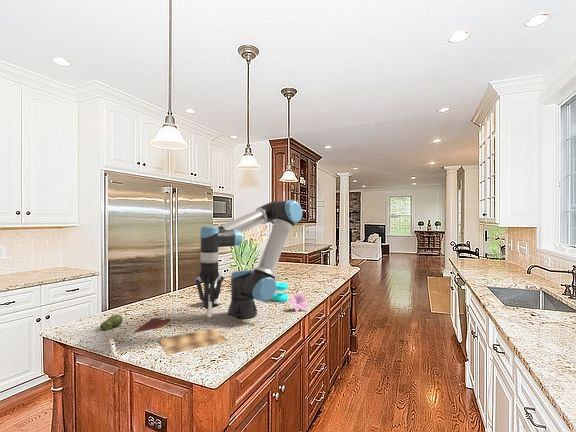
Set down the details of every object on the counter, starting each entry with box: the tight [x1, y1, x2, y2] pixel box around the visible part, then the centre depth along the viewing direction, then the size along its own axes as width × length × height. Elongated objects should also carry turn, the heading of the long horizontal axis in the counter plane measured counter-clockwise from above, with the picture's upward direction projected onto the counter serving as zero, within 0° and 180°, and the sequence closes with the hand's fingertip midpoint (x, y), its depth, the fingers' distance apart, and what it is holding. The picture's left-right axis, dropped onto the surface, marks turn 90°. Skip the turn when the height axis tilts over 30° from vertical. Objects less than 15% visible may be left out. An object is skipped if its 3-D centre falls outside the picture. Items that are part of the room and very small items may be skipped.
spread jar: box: [201, 282, 222, 307], centre depth 189 cm, size 12×11×12 cm
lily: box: [287, 289, 310, 313], centre depth 179 cm, size 12×12×10 cm
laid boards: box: [162, 334, 229, 356], centre depth 128 cm, size 24×7×1 cm, turn 123°
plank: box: [158, 327, 222, 349], centre depth 135 cm, size 24×8×1 cm, turn 123°
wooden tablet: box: [132, 317, 171, 334], centre depth 149 cm, size 27×10×2 cm, turn 176°
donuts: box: [271, 281, 289, 302], centre depth 199 cm, size 10×10×10 cm
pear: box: [99, 314, 123, 331], centre depth 150 cm, size 6×5×10 cm
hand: (209, 315), depth 140 cm, fingers closed
